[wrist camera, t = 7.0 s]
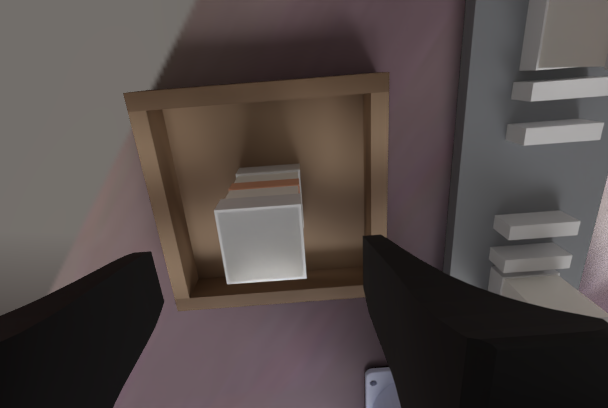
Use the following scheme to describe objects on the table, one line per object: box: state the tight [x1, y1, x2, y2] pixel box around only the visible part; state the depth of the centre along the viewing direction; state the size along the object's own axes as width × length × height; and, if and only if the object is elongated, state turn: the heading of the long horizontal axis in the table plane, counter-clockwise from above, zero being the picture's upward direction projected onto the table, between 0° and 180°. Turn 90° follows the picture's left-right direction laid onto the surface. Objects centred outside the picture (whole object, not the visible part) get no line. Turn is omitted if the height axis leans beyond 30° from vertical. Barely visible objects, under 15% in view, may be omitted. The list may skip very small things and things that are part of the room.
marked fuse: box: [214, 164, 307, 284], centre depth 16 cm, size 3×3×6 cm
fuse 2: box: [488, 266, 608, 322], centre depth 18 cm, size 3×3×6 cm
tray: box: [123, 72, 389, 311], centre depth 18 cm, size 12×12×2 cm
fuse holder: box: [443, 0, 608, 291], centre depth 18 cm, size 20×8×2 cm, turn 4°
